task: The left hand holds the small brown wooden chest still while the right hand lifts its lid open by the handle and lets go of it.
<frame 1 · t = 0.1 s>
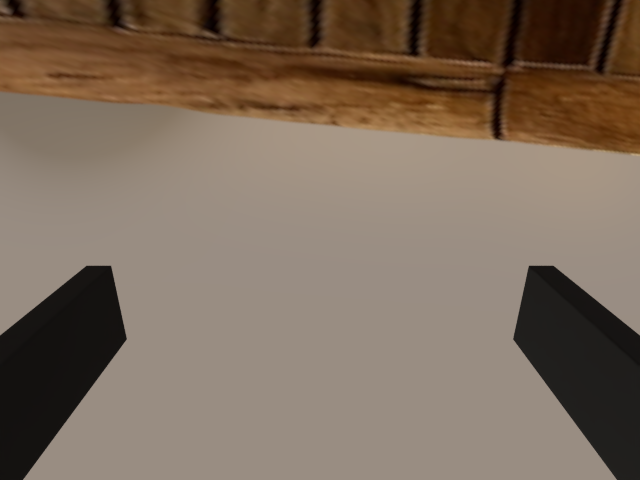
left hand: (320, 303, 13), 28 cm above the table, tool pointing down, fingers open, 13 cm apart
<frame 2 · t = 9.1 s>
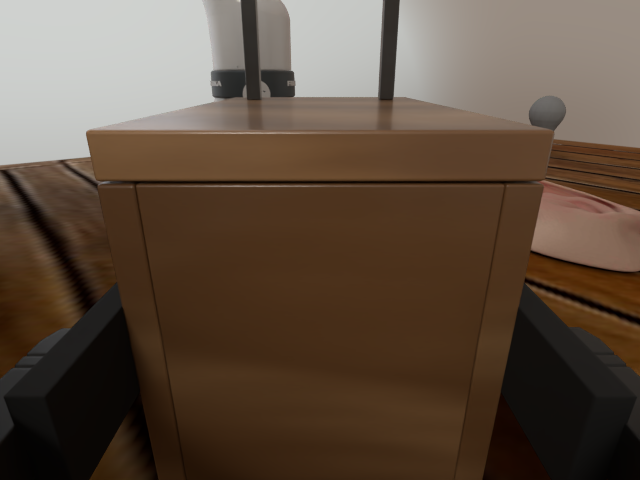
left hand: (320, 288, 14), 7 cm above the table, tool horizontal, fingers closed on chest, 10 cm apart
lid: (320, 23, 15), point 15 cm above the table, hinge at 0.0°
anatomical model: (569, 239, 36), on the table
chest: (320, 361, 20), on the table, touching left hand
light bulb: (539, 151, 78), on the table
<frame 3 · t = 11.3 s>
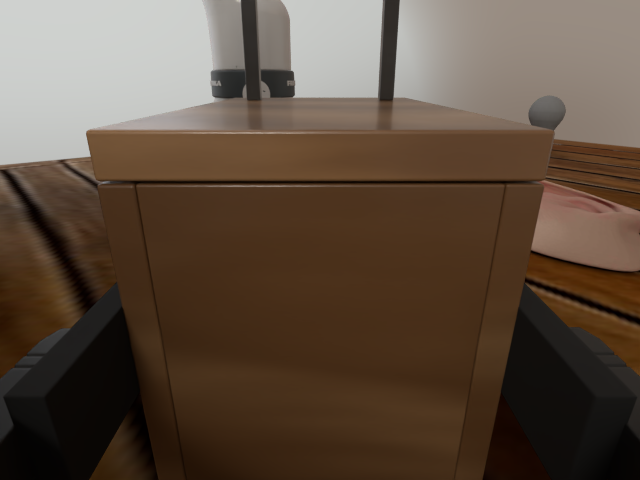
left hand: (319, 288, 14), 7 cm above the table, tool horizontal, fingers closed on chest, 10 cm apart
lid: (320, 23, 15), point 15 cm above the table, hinge at -0.1°, touching right hand
anatomical model: (569, 239, 36), on the table
chest: (320, 361, 20), on the table, touching left hand
light bulb: (538, 151, 78), on the table
when the left hand's fingers open (7 cm above the table, at t = 19.1 s): chest stays where it is, on the table.
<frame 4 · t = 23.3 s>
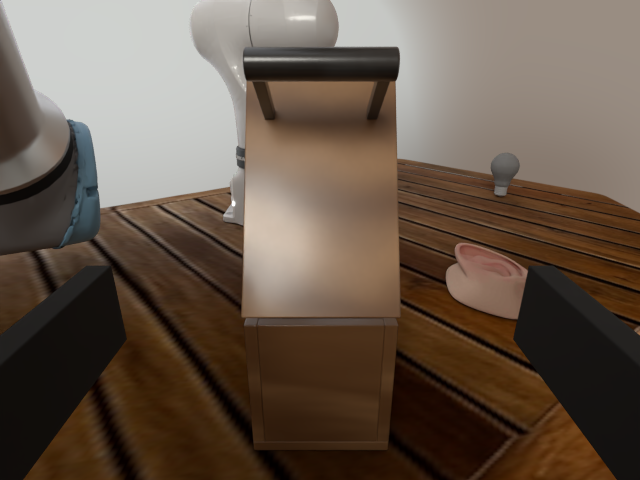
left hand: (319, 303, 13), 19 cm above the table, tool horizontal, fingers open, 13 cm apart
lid: (321, 180, 23), point 21 cm above the table, hinge at 61.8°
anatomical model: (489, 291, 53), on the table
chest: (320, 378, 38), on the table
light bulb: (499, 196, 95), on the table
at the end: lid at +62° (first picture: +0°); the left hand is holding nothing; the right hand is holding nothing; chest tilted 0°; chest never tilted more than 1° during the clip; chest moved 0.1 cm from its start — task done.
